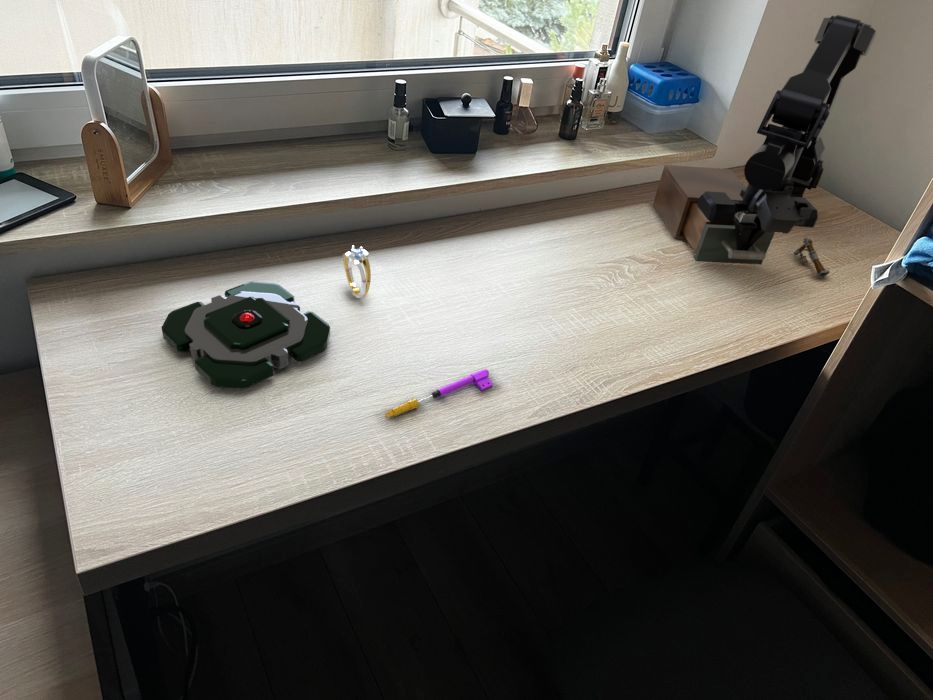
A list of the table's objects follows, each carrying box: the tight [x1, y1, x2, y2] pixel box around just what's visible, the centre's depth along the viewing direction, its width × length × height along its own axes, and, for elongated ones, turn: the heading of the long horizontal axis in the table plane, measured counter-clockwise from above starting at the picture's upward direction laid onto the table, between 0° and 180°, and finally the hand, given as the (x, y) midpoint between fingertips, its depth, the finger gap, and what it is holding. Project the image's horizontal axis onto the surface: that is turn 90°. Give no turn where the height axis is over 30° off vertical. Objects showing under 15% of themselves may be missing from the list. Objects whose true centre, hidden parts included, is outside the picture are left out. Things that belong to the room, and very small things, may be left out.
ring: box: [342, 245, 372, 299], centre depth 106 cm, size 7×3×8 cm, turn 27°
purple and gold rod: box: [384, 369, 494, 419], centre depth 92 cm, size 3×1×16 cm
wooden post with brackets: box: [793, 236, 831, 279], centre depth 131 cm, size 2×8×4 cm, turn 17°
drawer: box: [681, 201, 776, 265], centre depth 129 cm, size 17×12×7 cm
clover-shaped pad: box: [161, 281, 331, 390], centre depth 96 cm, size 18×18×5 cm
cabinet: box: [652, 164, 747, 241], centre depth 138 cm, size 14×14×9 cm
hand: (739, 253), depth 124 cm, fingers closed
